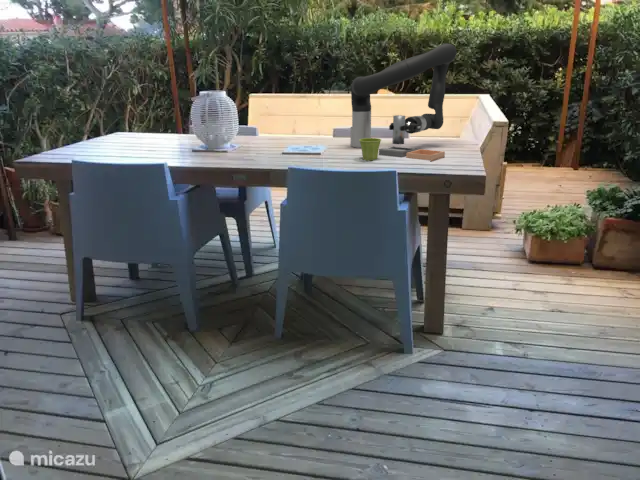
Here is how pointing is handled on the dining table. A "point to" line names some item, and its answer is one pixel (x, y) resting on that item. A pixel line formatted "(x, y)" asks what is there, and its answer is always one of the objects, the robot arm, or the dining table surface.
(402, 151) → the bin
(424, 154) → the bin
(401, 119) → the grey upright cylinder
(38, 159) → the dining table surface
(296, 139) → the dining table surface
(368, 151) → the plant pot
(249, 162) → the dining table surface
